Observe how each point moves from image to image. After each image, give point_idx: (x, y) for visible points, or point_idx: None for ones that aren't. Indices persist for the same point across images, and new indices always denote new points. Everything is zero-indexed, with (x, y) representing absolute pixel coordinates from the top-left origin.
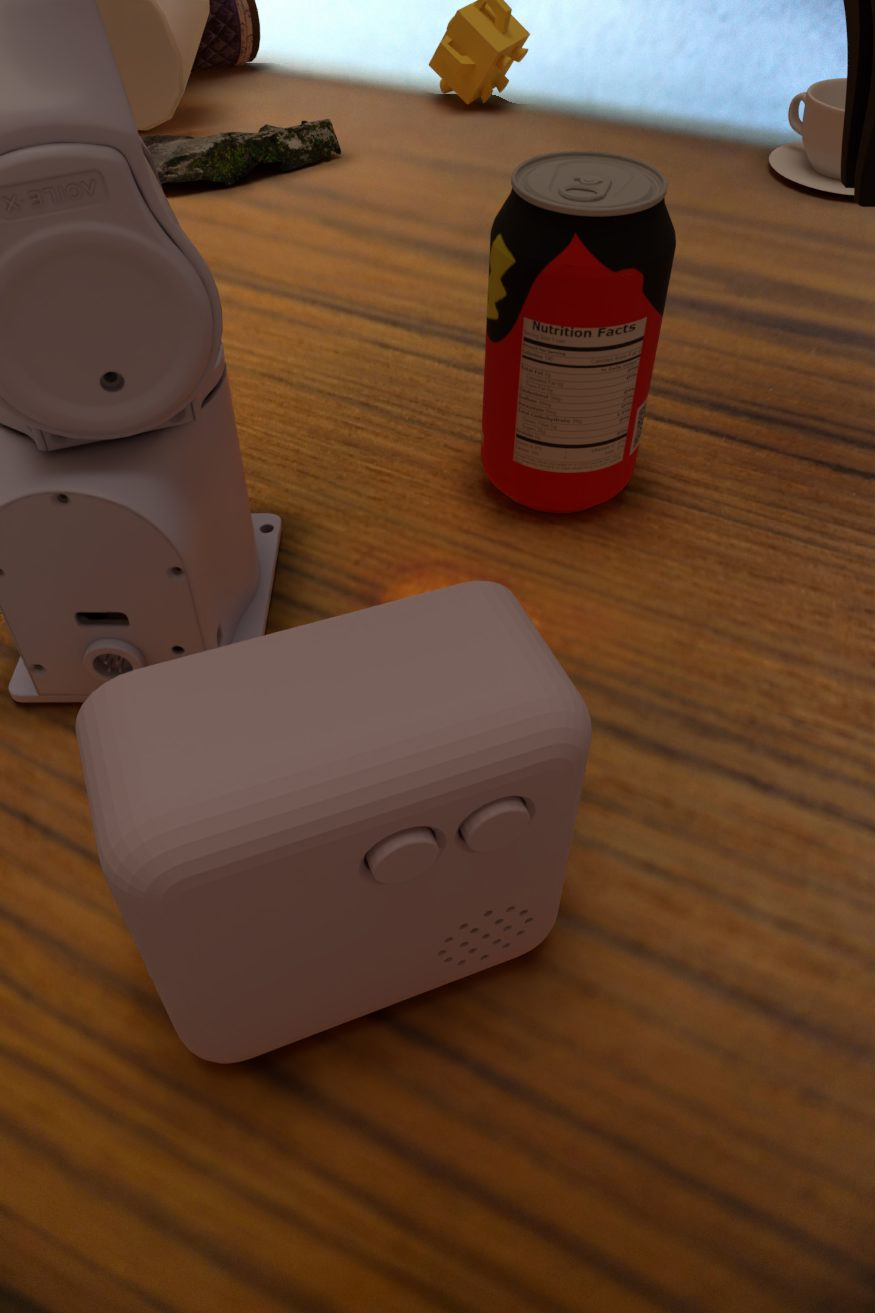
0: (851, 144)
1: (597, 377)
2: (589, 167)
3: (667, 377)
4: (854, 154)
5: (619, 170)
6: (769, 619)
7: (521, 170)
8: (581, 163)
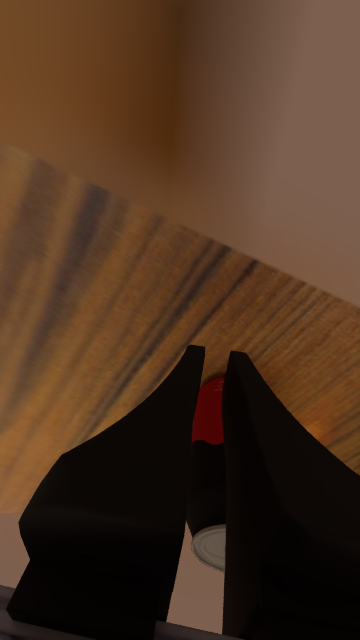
0: (194, 415)
1: None
2: (213, 544)
3: (146, 328)
4: (196, 405)
5: (221, 537)
6: (349, 349)
7: (212, 563)
8: (205, 544)
